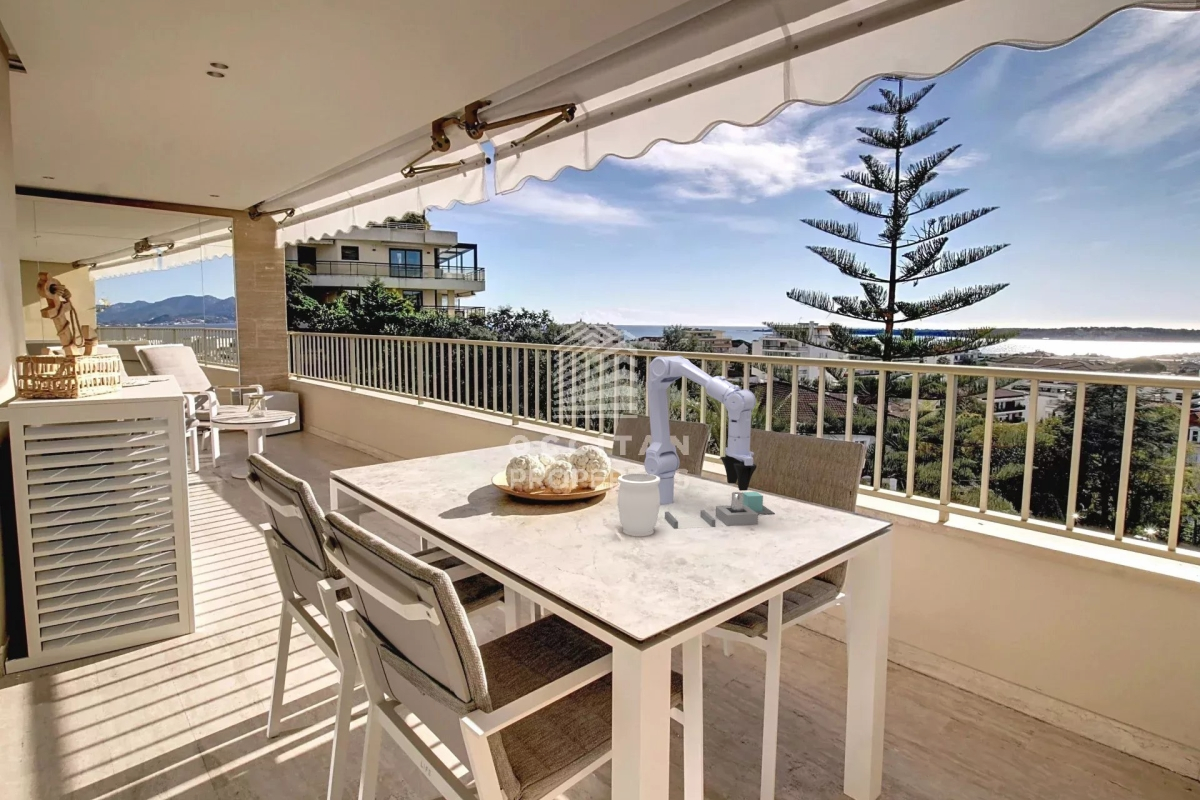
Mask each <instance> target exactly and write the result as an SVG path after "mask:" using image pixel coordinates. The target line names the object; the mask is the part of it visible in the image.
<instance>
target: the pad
mask: <svg viewBox="0 0 1200 800" xmlns="http://www.w3.org/2000/svg"><path fill="white" fill-rule="evenodd" d="M756 513H758V516H760V515H759V514H768V515H776V513H775V512H774V511H772V510H771V509H770V508H767V507H766V506H765V505H763V511H756Z"/></svg>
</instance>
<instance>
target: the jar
mask: <svg viewBox="0 0 1200 800" xmlns="http://www.w3.org/2000/svg"><path fill="white" fill-rule="evenodd" d="M617 477H618V479H617V481H618V483H619V484H620V485H619V487H618V488H619V489H618V493H617V509H618V515H619V522H620V525H621V527H622V528H623V530H622V533H623V534H626V535H628V536H634V537H643V536H644V537H645V536H651V535H653V534H654V533H655V531H654V529H655V527H656V525H657V524H658V523H657V522H658V518H659V511H660V493H659V487H658V484H659V483H660V478H659V477H658V476H655V475H651V474H648V473H643V472H642V473H641V472H640V473H638V472H636V473H624V474H622V475H619V476H617Z"/></svg>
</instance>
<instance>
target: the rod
mask: <svg viewBox="0 0 1200 800" xmlns="http://www.w3.org/2000/svg"><path fill="white" fill-rule="evenodd" d="M730 506H731V513H739V512H743V493H742V492H741V491H734V492H731V505H730Z"/></svg>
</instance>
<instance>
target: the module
mask: <svg viewBox="0 0 1200 800" xmlns="http://www.w3.org/2000/svg"><path fill="white" fill-rule="evenodd" d="M741 493H743V505H746V506H748V507H749V508H750V509H752V510H753V511H755V512H756V511H763V506H764V495H762V494H761V493H760V492H758V491H742V492H741Z"/></svg>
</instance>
